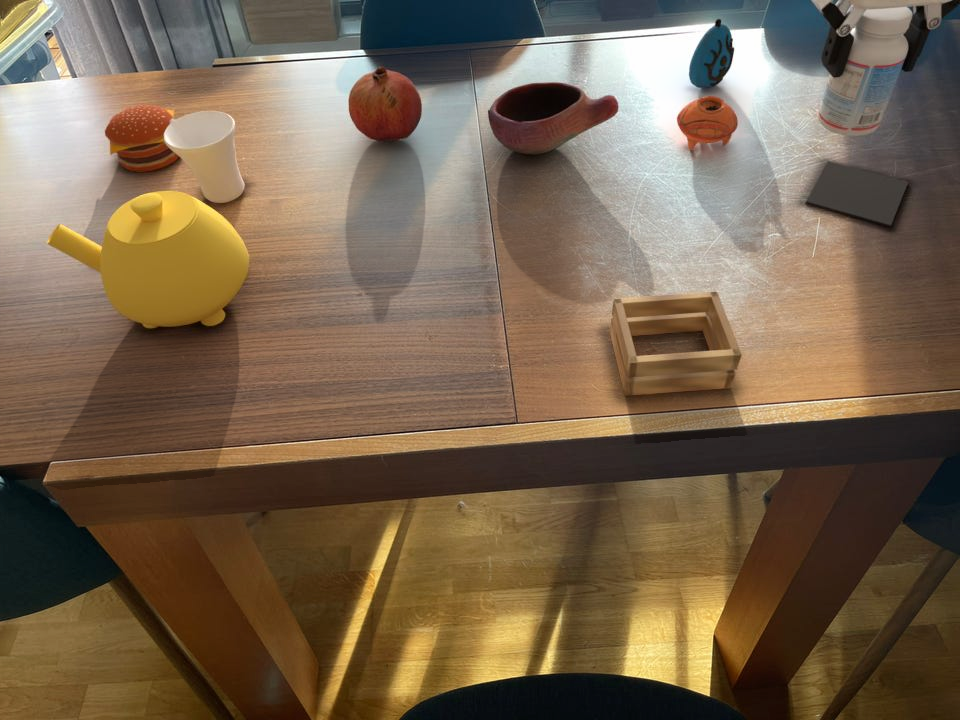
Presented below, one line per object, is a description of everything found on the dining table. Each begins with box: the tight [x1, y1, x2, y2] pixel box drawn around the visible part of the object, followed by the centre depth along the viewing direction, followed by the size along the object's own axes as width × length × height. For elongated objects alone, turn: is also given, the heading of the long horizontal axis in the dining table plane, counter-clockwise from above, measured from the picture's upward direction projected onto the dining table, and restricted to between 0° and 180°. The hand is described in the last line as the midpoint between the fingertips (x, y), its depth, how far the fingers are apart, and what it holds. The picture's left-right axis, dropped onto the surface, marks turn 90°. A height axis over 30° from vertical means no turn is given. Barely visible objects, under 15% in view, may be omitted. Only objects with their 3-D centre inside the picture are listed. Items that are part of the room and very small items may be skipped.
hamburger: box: [104, 104, 180, 173], centre depth 104 cm, size 9×10×7 cm
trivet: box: [805, 160, 909, 228], centre depth 93 cm, size 10×10×1 cm
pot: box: [676, 95, 739, 150], centre depth 100 cm, size 8×8×7 cm
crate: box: [609, 290, 743, 397], centre depth 74 cm, size 11×9×5 cm
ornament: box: [688, 18, 735, 89], centre depth 108 cm, size 8×5×10 cm, turn 132°
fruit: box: [348, 66, 423, 142], centre depth 103 cm, size 11×10×10 cm
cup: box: [164, 110, 246, 204], centre depth 96 cm, size 9×9×10 cm
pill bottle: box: [817, 7, 913, 137], centre depth 71 cm, size 6×6×11 cm
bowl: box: [487, 81, 620, 155], centre depth 101 cm, size 16×13×8 cm
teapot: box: [46, 190, 250, 329], centre depth 81 cm, size 20×16×14 cm
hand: (866, 66), depth 71 cm, fingers closed on pill bottle, 6 cm apart
